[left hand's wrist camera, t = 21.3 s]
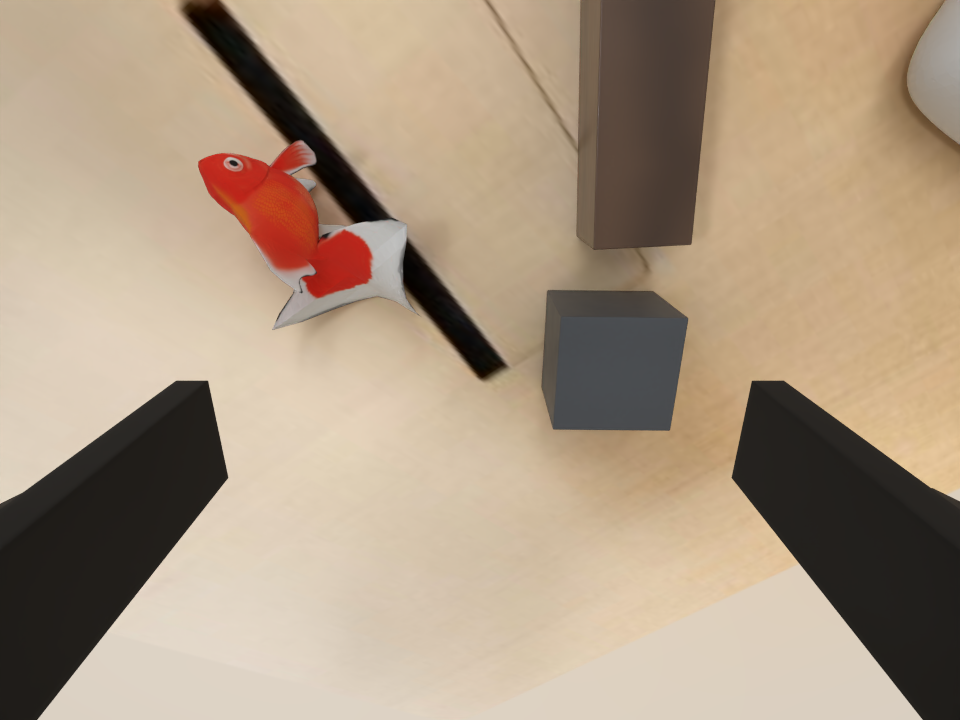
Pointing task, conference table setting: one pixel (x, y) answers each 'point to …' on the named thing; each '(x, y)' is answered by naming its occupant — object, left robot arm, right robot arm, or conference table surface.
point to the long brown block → (641, 120)
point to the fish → (307, 235)
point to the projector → (939, 70)
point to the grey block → (611, 360)
